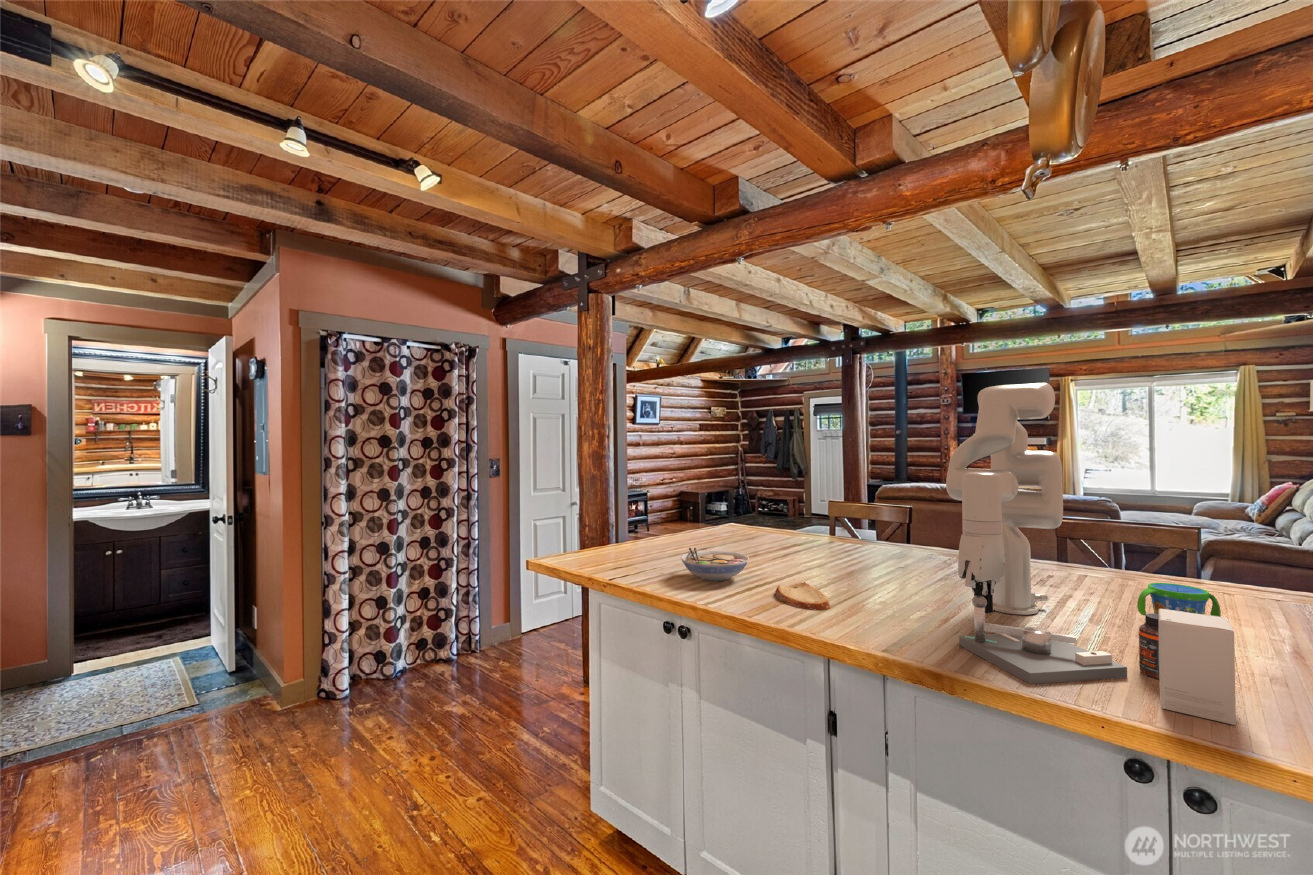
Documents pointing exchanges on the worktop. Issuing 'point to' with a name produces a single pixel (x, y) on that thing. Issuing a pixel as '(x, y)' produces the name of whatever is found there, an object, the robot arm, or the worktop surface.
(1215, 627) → the supplement box
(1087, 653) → the stand
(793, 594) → the bread slice
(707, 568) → the ramen bowl
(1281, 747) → the worktop surface
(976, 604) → the metal crank lever
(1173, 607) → the snack cup
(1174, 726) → the worktop surface
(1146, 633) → the supplement bottle
